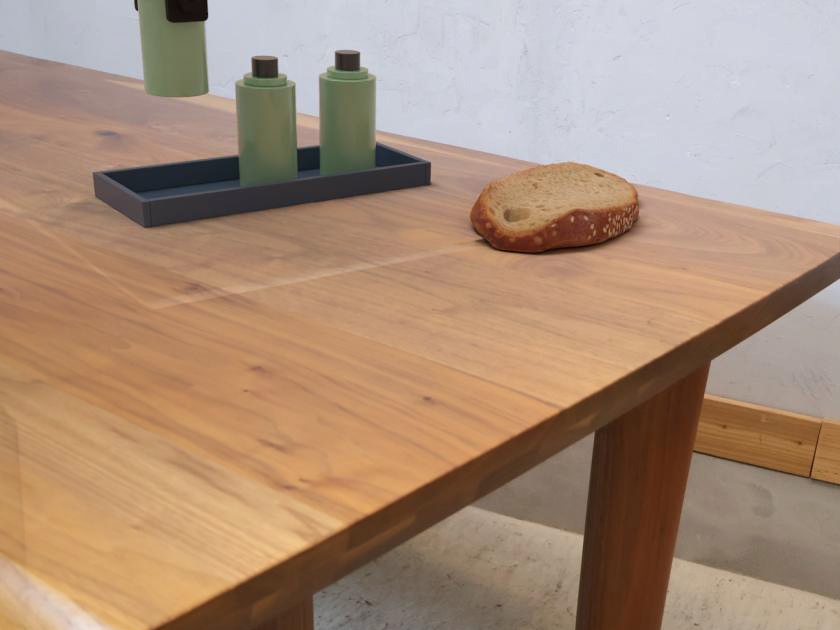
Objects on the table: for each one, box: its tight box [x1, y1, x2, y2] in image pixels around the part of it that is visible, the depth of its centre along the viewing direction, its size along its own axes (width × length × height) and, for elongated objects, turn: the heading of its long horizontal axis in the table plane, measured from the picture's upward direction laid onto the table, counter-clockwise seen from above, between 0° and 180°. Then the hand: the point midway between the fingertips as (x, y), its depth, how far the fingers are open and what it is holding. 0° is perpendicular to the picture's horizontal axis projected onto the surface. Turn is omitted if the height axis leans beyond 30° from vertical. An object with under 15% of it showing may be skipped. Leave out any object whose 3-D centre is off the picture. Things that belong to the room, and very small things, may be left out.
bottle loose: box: [137, 0, 210, 98], centre depth 89 cm, size 5×5×11 cm
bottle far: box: [318, 49, 377, 176], centre depth 101 cm, size 5×5×11 cm
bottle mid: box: [234, 55, 298, 187], centre depth 97 cm, size 5×5×11 cm
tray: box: [92, 141, 432, 229], centre depth 99 cm, size 27×10×3 cm, turn 126°
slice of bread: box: [469, 161, 640, 253], centre depth 97 cm, size 18×18×4 cm
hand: (171, 13), depth 89 cm, fingers closed on bottle loose, 5 cm apart
